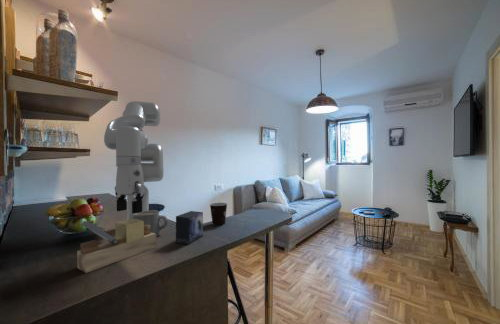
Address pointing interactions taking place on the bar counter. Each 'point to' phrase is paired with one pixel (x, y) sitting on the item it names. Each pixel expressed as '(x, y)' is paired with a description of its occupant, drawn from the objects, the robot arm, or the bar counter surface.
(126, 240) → the olive cube-like block
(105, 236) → the lever
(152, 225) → the coffee mug
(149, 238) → the wooden block plane
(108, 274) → the bar counter surface
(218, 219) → the coffee mug
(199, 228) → the small box
